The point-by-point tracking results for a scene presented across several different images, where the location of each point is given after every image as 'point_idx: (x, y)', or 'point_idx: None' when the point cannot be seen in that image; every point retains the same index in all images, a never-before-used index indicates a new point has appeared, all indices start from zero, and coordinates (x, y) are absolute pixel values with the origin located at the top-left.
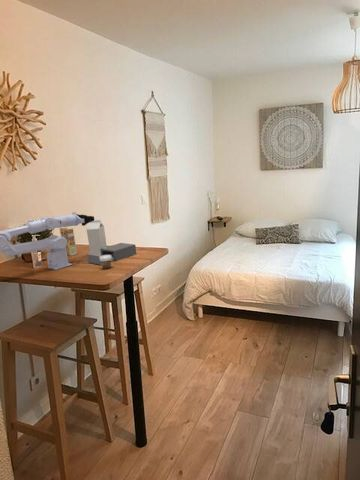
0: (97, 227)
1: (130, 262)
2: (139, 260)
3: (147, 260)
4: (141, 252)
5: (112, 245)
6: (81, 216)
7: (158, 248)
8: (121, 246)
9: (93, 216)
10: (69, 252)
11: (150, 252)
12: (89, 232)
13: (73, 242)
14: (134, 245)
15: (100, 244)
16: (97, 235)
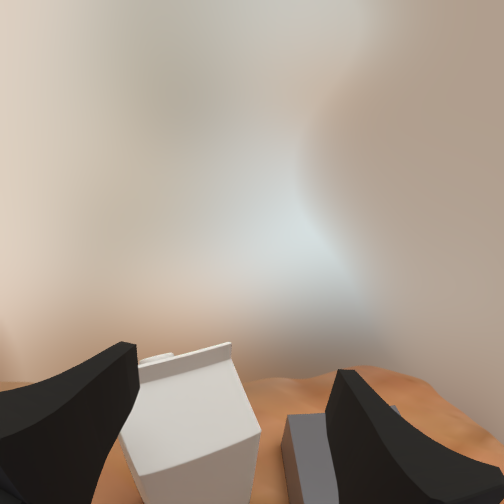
0: (240, 423)
1: None
2: (479, 460)
3: (494, 443)
4: None
5: (301, 463)
6: (95, 404)
7: (365, 366)
8: None
9: (356, 374)
10: None
11: (398, 400)
12: (170, 484)
13: None
14: (396, 411)
15: (247, 499)
16: (238, 473)
